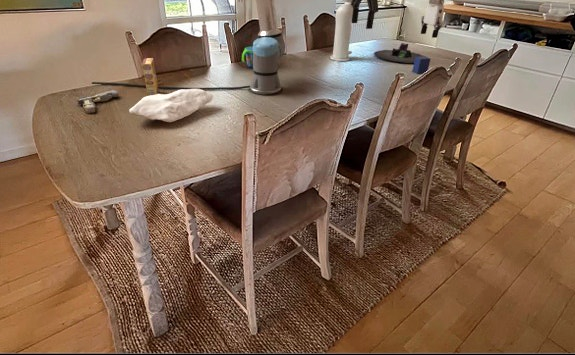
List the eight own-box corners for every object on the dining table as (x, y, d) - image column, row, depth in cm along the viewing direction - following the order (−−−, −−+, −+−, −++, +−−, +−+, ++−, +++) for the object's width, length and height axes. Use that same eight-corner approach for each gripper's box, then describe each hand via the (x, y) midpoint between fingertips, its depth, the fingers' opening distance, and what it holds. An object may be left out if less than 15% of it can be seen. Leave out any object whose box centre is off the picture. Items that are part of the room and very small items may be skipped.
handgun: (128, 97, 156) (111, 87, 164) (86, 107, 144) (70, 97, 152) (129, 103, 157) (113, 94, 165) (88, 114, 146) (72, 103, 154)
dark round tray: (438, 59, 239) (441, 44, 234) (403, 65, 221) (405, 50, 217) (397, 50, 264) (399, 37, 259) (362, 56, 246) (363, 42, 242)
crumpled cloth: (117, 110, 146) (113, 90, 140) (195, 92, 166) (194, 73, 160) (143, 139, 134) (140, 118, 128) (223, 116, 154) (224, 96, 148)
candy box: (157, 97, 164) (152, 63, 155) (147, 98, 163) (141, 63, 155) (158, 91, 171) (153, 57, 163) (149, 91, 170) (143, 58, 162)
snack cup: (261, 62, 218) (261, 45, 213) (270, 67, 211) (270, 49, 205) (237, 65, 211) (237, 47, 205) (246, 70, 203) (246, 51, 198)
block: (427, 72, 213) (430, 58, 209) (417, 73, 211) (420, 59, 206) (421, 70, 217) (425, 56, 212) (412, 71, 215) (415, 56, 210)
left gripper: (392, -25, 147) (383, 30, 159) (361, -29, 167) (355, 20, 178) (376, -25, 145) (368, 31, 157) (347, -30, 165) (341, 21, 176)
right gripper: (453, 4, 188) (444, 38, 197) (431, -1, 202) (424, 32, 211) (441, 4, 186) (433, 39, 195) (420, -1, 199) (413, 32, 209)
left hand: (361, 25), depth 167 cm, fingers open, 13 cm apart
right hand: (428, 35), depth 203 cm, fingers open, 9 cm apart
